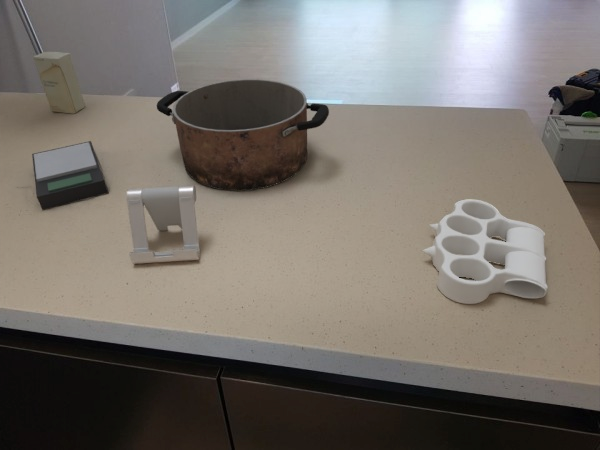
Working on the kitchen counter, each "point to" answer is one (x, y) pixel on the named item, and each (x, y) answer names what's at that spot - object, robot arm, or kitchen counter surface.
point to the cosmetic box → (59, 81)
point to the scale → (67, 175)
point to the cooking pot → (242, 131)
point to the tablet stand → (163, 221)
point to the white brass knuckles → (487, 254)
